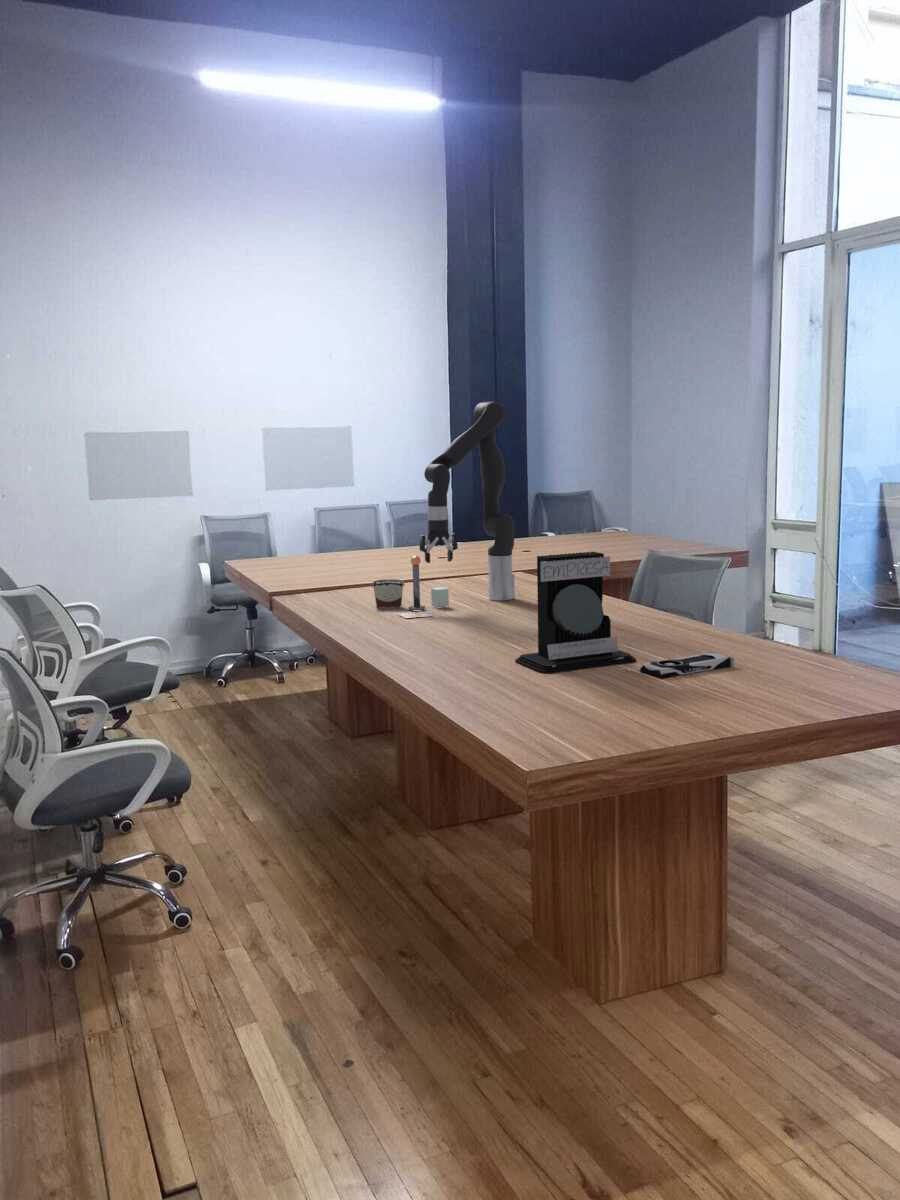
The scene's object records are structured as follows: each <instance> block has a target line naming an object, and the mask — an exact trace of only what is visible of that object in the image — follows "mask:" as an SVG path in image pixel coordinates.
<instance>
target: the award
mask: <svg viewBox="0 0 900 1200" xmlns="http://www.w3.org/2000/svg"><path fill="white" fill-rule="evenodd" d="M536 564H537V565H536V576H537V578H536V579H537V652H534V653H533V652H531V653H524V654H520V656H518V658H515V661H514V662H515V663H517V664H518V665H521V666H524V667H526V668H528V669H531V670H533V671H536V672H537V673H541V674H556V673H562V672H563V673H564V672H571V671H577V670H584V669H585V670H587V669H593V668H600V667H607V666H608V667H610V666H615V665H624V664H630V663H631V664H632V663H635V662H636V661H637V658H636V657H635V656H633V655H632V654H631V653H628V652H626V651H625V652H624V651H623V650H619V646H618V637H617V636H612V634H611V633H612V632H611V630H612V629H611V628H612V627H611V625H612V624H611V618H610V616H609V615H606V614H605V613H604V609H603V596H604V593H603V591H604V589H603V588H604V586H603V584H604V582H603V581H604V577H607V576H609V577H610V576H611V556H610V555H605V554H604V553H603V552H596V551H584V552H571V553H569V552H568V553H559V554H548V555H537V556H536Z"/></svg>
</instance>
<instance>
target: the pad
mask: <svg viewBox="0 0 900 1200" xmlns="http://www.w3.org/2000/svg"><path fill="white" fill-rule="evenodd" d="M412 612H414V613H415V612H416V611H410V612H404V613H403V612H401V613H397V614H398V615H400V616H403V617H405V618H411V616H412V615H413V614H414V613H413V614H411V613H412ZM420 612H422V613H421V614H422V616H421V617H425V616H433V617H434V615H433V614H430V613H428V612H425V611H420ZM405 613H406V614H405ZM408 613H409V614H408ZM410 614H411V615H410ZM419 614H420V613H419ZM398 615H397V616H398ZM406 615H407V616H406ZM409 615H410V617H409ZM400 616H399V617H400ZM414 616H415V614H414ZM414 616H413V617H414ZM403 617H402V618H403ZM405 618H404V619H405ZM425 618H426V617H425Z"/></svg>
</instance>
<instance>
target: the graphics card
mask: <svg viewBox="0 0 900 1200" xmlns="http://www.w3.org/2000/svg"><path fill="white" fill-rule="evenodd" d="M734 660H735V657H731V656H728V655H724V654H721V653H717V652H713V651H706V652H701V653H697V654H695V655H688V656H683V657H677V658H672V659H662V660H657V661H656V660H655V661H650V662H645V663H643V664H642V665H641V666H640V667H639V669H640V670H639V672H640V673H641V674H645V675H647V676H651V677H653V678H657V679H660V680H662V679H668V678H675V677H680V676H686V675H687V676H688V675H692V674H698V673H705V672H710V671H715V670H721V669H727V668H734V666H735V661H734Z"/></svg>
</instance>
